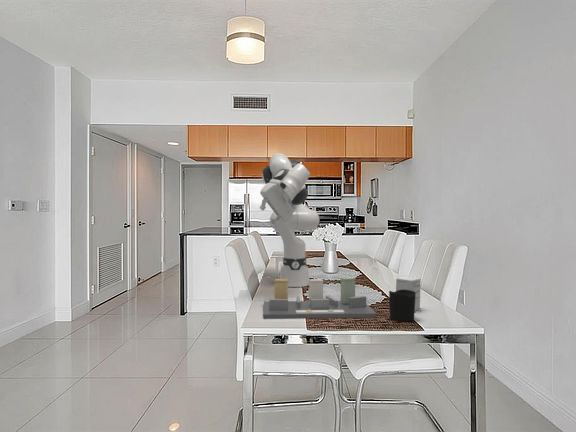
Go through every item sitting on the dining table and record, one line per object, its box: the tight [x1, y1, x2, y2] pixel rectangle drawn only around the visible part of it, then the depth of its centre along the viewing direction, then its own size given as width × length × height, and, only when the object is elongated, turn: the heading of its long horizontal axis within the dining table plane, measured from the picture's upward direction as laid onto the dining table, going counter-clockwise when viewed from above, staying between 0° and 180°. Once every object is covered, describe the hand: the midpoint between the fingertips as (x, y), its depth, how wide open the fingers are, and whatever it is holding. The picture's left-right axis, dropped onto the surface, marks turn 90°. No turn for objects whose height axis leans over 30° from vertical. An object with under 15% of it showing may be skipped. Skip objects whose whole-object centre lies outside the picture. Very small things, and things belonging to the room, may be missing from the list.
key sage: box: [340, 276, 357, 304], centre depth 178 cm, size 3×5×10 cm, turn 115°
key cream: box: [308, 278, 324, 305], centre depth 174 cm, size 3×5×10 cm, turn 99°
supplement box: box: [395, 275, 422, 312], centre depth 175 cm, size 7×7×13 cm
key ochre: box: [273, 278, 289, 300], centre depth 174 cm, size 3×5×10 cm, turn 83°
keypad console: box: [263, 295, 378, 320], centre depth 171 cm, size 21×42×6 cm, turn 93°
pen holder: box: [388, 290, 416, 322], centre depth 160 cm, size 9×9×10 cm
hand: (266, 216), depth 188 cm, fingers open, 8 cm apart
